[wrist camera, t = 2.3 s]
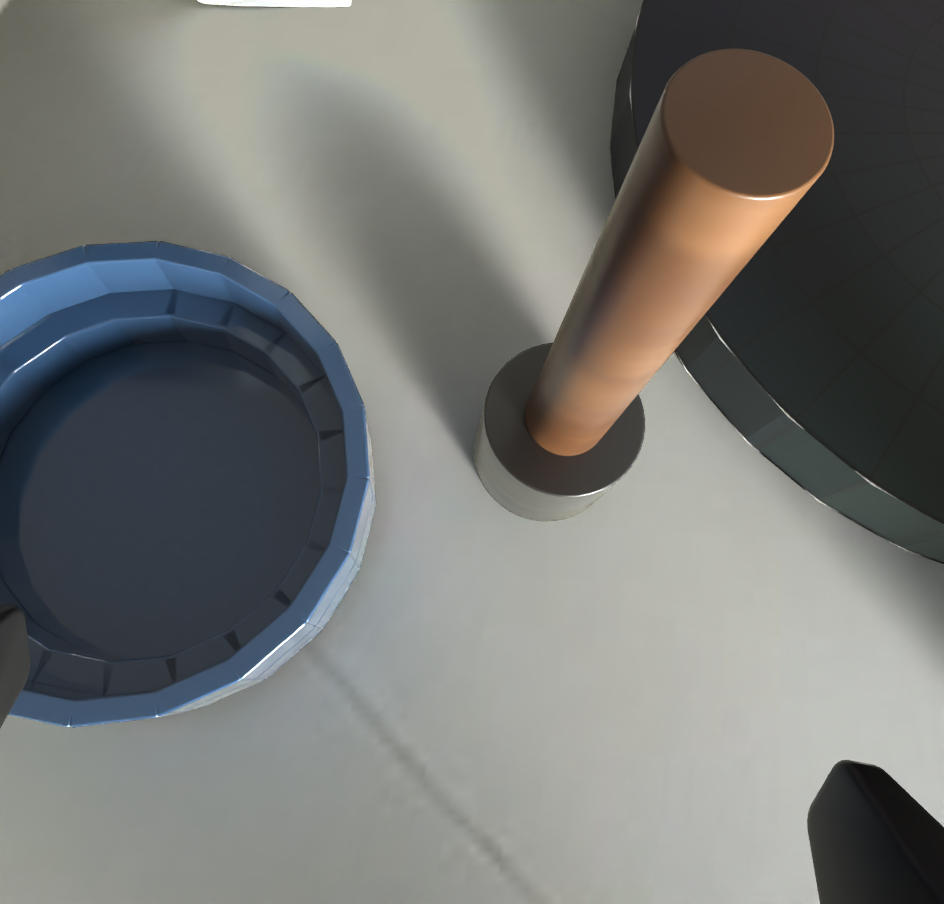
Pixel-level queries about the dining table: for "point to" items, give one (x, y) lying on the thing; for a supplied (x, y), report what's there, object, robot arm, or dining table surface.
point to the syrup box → (281, 3)
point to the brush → (652, 276)
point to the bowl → (170, 478)
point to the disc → (830, 256)
